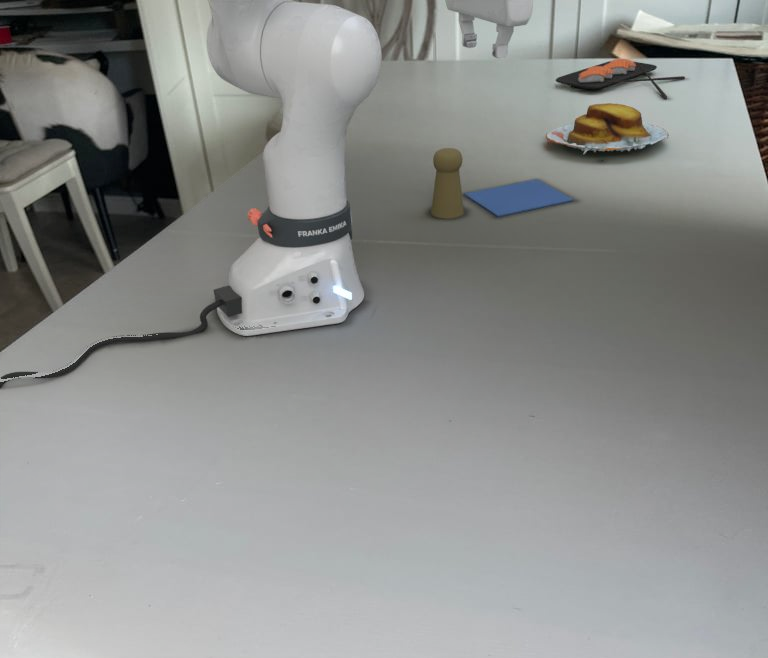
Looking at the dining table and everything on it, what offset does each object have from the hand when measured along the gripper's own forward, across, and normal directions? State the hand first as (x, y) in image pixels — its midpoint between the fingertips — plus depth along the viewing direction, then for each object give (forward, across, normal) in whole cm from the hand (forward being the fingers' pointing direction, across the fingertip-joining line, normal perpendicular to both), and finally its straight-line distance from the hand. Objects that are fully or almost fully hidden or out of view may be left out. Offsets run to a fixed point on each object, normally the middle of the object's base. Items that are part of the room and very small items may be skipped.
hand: (484, 52), depth 124 cm
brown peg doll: (+28, -10, -1) cm, 30 cm away
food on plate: (+27, -27, +46) cm, 60 cm away
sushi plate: (+26, -66, +82) cm, 108 cm away
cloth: (+27, -10, +14) cm, 32 cm away
